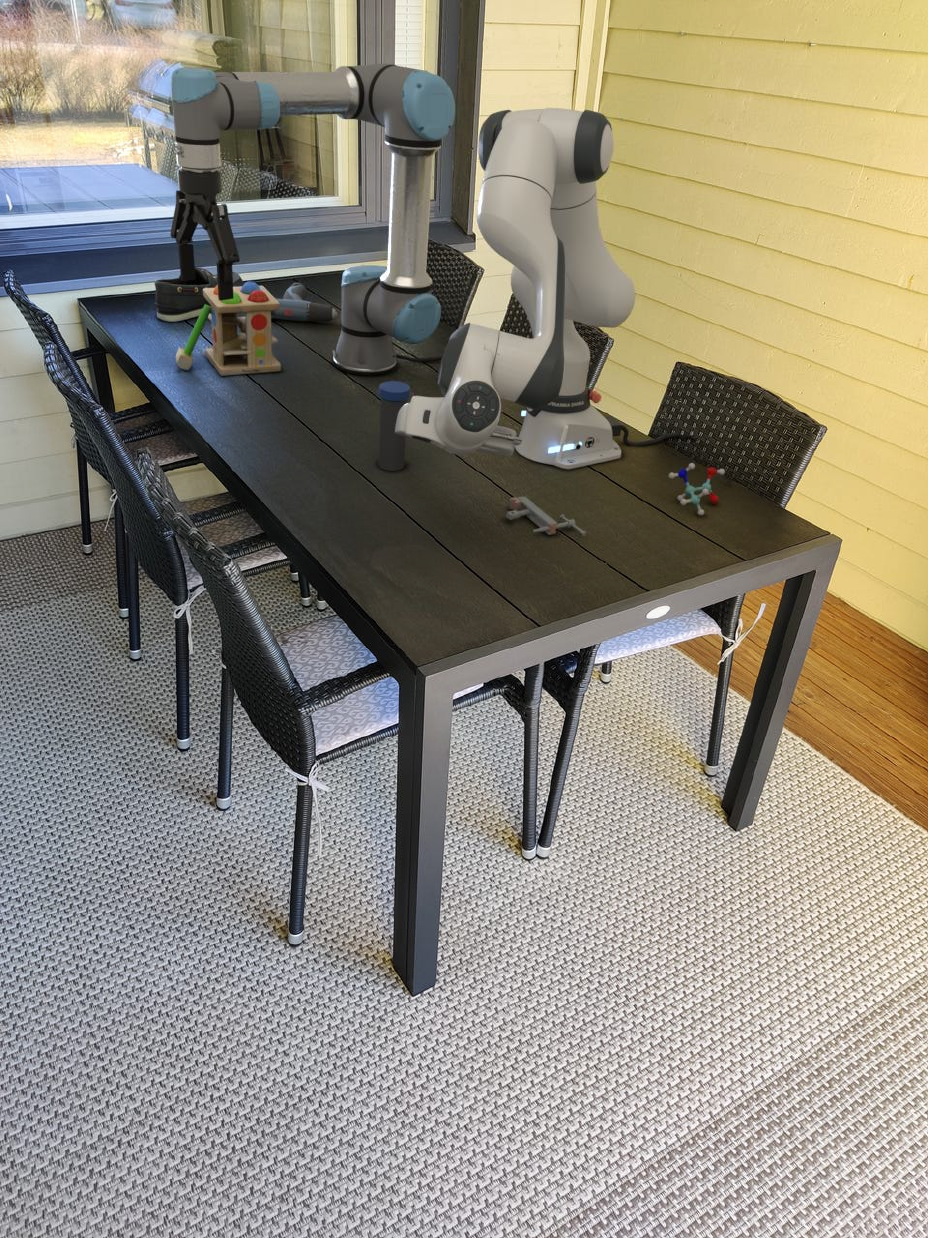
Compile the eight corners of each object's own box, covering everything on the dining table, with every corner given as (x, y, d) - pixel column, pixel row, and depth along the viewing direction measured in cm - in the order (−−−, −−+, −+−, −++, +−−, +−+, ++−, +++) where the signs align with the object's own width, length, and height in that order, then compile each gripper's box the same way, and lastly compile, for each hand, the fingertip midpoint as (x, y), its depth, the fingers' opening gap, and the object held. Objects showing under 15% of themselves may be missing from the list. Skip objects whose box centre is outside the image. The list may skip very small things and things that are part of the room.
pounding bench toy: (183, 379, 220) (176, 299, 210) (169, 357, 231) (162, 280, 221) (282, 371, 230) (280, 294, 220) (264, 350, 240) (262, 276, 230)
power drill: (344, 304, 276) (335, 327, 259) (277, 298, 275) (264, 321, 258) (344, 285, 273) (335, 306, 256) (277, 279, 272) (264, 300, 255)
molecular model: (729, 509, 182) (714, 457, 180) (679, 523, 185) (663, 472, 184) (733, 500, 192) (719, 451, 191) (686, 514, 196) (671, 466, 194)
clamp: (496, 500, 180) (542, 491, 184) (495, 510, 181) (540, 501, 185) (542, 538, 169) (588, 528, 174) (540, 549, 170) (586, 539, 175)
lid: (391, 403, 182) (391, 394, 181) (373, 393, 185) (373, 384, 184) (415, 397, 185) (416, 388, 184) (397, 387, 189) (397, 379, 188)
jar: (388, 473, 191) (392, 395, 182) (373, 463, 194) (375, 386, 185) (409, 467, 194) (413, 390, 185) (393, 457, 197) (397, 382, 188)
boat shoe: (262, 300, 274) (260, 262, 268) (174, 323, 250) (170, 282, 245) (229, 292, 279) (226, 254, 274) (139, 314, 256) (134, 273, 250)
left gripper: (145, 155, 179) (155, 274, 191) (217, 183, 164) (224, 310, 176) (182, 153, 183) (190, 269, 195) (256, 180, 169) (260, 304, 181)
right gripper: (528, 420, 158) (512, 435, 171) (403, 392, 155) (397, 410, 169) (520, 458, 158) (505, 470, 171) (395, 432, 155) (390, 446, 169)
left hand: (206, 289), depth 186 cm, fingers open, 13 cm apart
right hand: (451, 440), depth 170 cm, fingers open, 8 cm apart
